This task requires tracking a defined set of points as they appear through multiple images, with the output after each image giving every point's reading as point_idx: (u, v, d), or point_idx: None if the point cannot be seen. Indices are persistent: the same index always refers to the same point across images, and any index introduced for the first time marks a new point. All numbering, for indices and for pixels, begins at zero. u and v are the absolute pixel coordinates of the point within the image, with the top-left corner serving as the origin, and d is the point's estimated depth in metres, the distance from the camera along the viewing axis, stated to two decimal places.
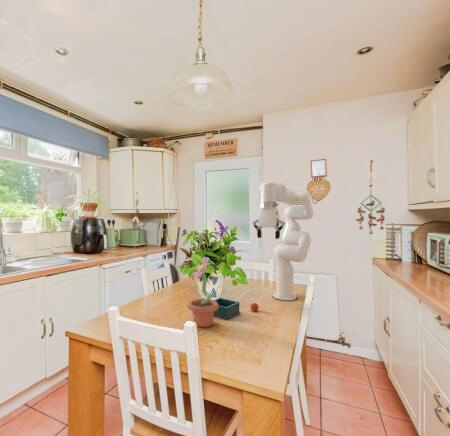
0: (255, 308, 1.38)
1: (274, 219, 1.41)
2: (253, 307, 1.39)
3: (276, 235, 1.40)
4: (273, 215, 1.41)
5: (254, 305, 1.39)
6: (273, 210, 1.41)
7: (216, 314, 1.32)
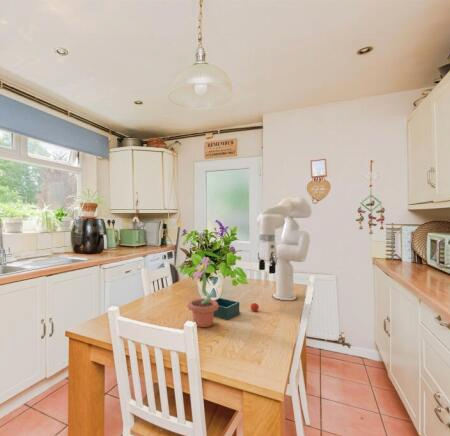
0: (255, 308, 1.38)
1: (267, 253, 1.37)
2: (253, 307, 1.39)
3: (269, 269, 1.36)
4: (267, 249, 1.38)
5: (254, 305, 1.39)
6: (267, 243, 1.38)
7: (216, 314, 1.32)
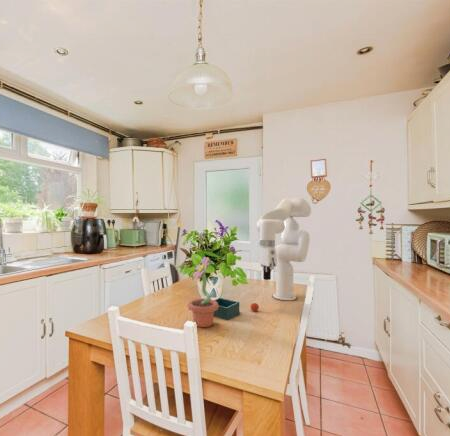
0: (255, 308, 1.38)
1: (267, 258, 1.37)
2: (253, 307, 1.39)
3: (265, 276, 1.40)
4: (267, 254, 1.37)
5: (254, 305, 1.39)
6: (267, 249, 1.38)
7: (216, 314, 1.32)
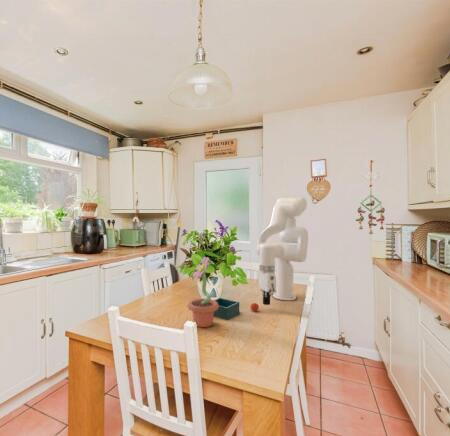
0: (255, 308, 1.38)
1: (267, 284, 1.37)
2: (253, 307, 1.39)
3: (264, 301, 1.40)
4: (266, 280, 1.38)
5: (254, 305, 1.39)
6: (267, 275, 1.38)
7: (216, 314, 1.32)
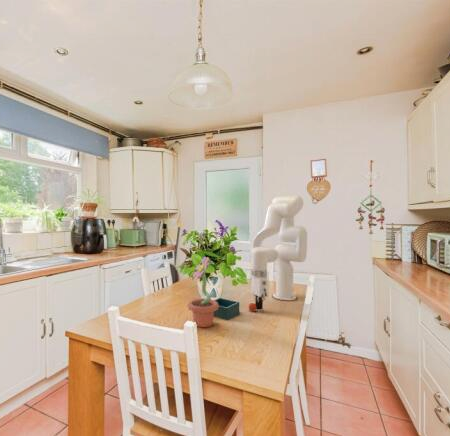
0: (253, 308, 1.38)
1: (259, 289, 1.36)
2: (251, 308, 1.38)
3: None
4: (258, 285, 1.37)
5: (252, 306, 1.38)
6: (259, 279, 1.37)
7: (216, 314, 1.32)
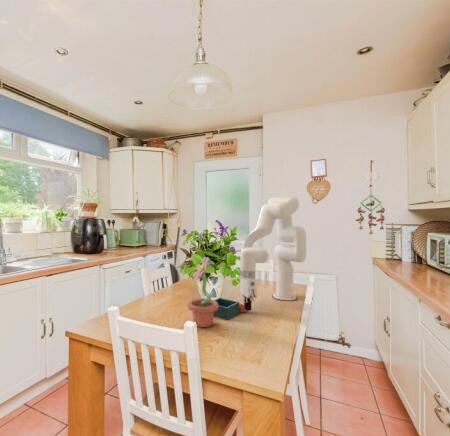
0: (242, 310, 1.37)
1: (247, 290, 1.35)
2: (239, 309, 1.37)
3: (245, 307, 1.38)
4: (247, 286, 1.35)
5: (240, 307, 1.37)
6: (247, 280, 1.35)
7: (216, 314, 1.32)
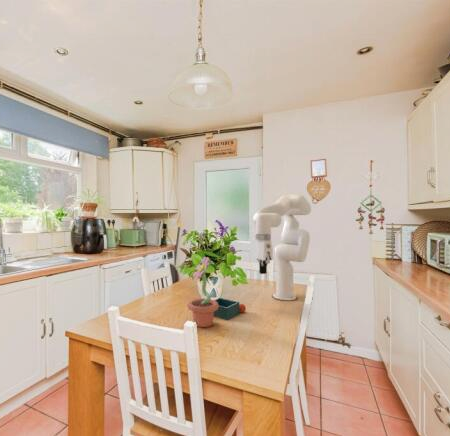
0: (242, 310, 1.36)
1: (263, 252, 1.36)
2: (240, 309, 1.37)
3: (260, 270, 1.39)
4: (263, 248, 1.36)
5: (241, 307, 1.37)
6: (263, 243, 1.36)
7: (216, 314, 1.32)
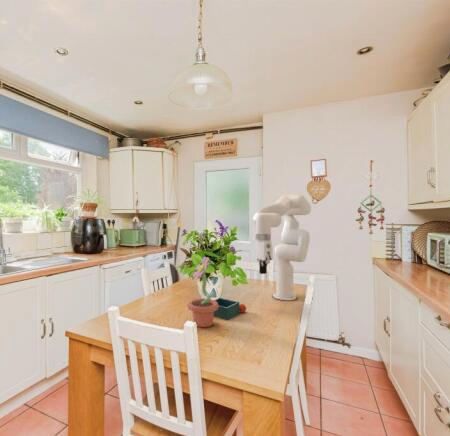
0: (242, 310, 1.36)
1: (263, 252, 1.36)
2: (240, 309, 1.37)
3: (261, 270, 1.39)
4: (263, 248, 1.36)
5: (241, 307, 1.37)
6: (263, 243, 1.36)
7: (216, 314, 1.32)
